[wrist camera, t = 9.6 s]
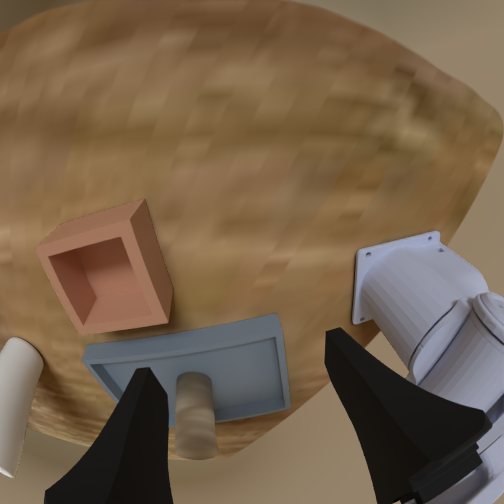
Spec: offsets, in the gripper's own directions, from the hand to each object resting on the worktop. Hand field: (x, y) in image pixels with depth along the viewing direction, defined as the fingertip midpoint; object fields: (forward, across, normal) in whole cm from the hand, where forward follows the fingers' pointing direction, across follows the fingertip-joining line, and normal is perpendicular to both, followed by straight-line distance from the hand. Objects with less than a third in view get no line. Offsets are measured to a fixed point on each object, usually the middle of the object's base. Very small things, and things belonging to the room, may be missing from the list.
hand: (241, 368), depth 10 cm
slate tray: (+10, +6, +13) cm, 18 cm away
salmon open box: (+10, +8, -1) cm, 13 cm away
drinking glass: (+11, +25, +7) cm, 28 cm away
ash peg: (+10, +6, +13) cm, 17 cm away
